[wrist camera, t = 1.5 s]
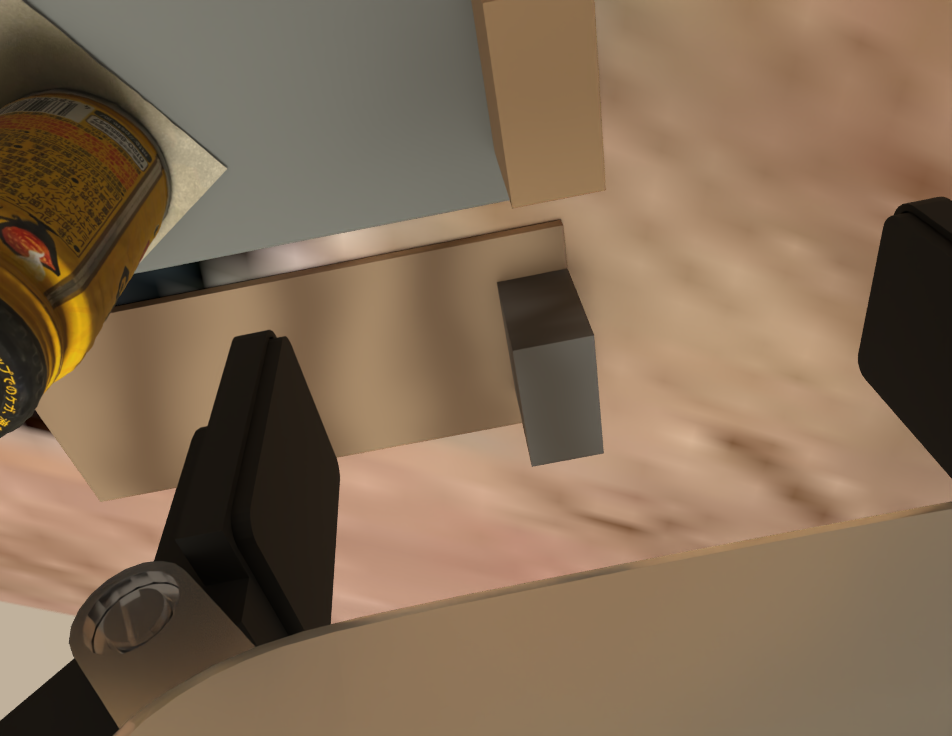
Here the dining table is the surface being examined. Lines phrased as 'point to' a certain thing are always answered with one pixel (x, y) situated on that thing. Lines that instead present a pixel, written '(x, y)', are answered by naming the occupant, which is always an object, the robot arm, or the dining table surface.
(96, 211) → the condiment
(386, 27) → the strip
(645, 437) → the dining table surface
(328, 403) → the strip empty
